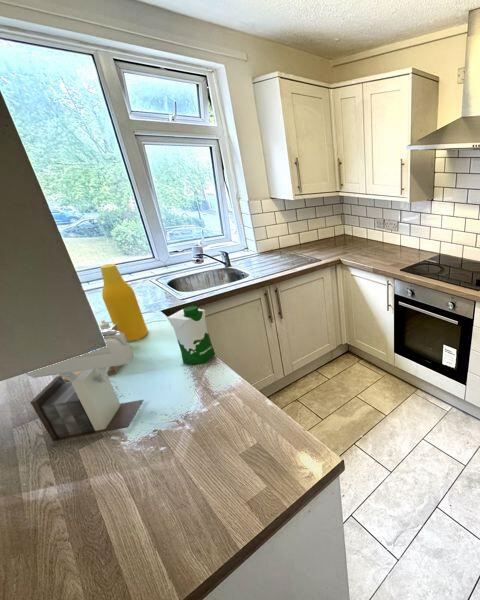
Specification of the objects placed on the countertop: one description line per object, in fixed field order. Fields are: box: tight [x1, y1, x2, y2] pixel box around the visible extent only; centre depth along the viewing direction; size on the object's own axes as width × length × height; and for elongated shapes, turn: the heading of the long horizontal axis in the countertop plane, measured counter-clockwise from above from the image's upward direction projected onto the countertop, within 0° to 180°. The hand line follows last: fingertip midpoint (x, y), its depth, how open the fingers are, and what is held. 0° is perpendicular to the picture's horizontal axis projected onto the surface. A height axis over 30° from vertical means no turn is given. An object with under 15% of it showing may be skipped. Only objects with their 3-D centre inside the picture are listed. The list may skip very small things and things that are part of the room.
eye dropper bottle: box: [99, 319, 111, 330], centre depth 117 cm, size 4×6×12 cm
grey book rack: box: [30, 375, 145, 443], centre depth 85 cm, size 16×11×13 cm
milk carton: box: [166, 305, 216, 366], centre depth 110 cm, size 9×9×20 cm
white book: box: [72, 369, 121, 431], centre depth 85 cm, size 2×9×15 cm, turn 18°
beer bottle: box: [99, 263, 149, 343], centre depth 122 cm, size 9×9×29 cm
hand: (92, 382), depth 83 cm, fingers open, 4 cm apart
